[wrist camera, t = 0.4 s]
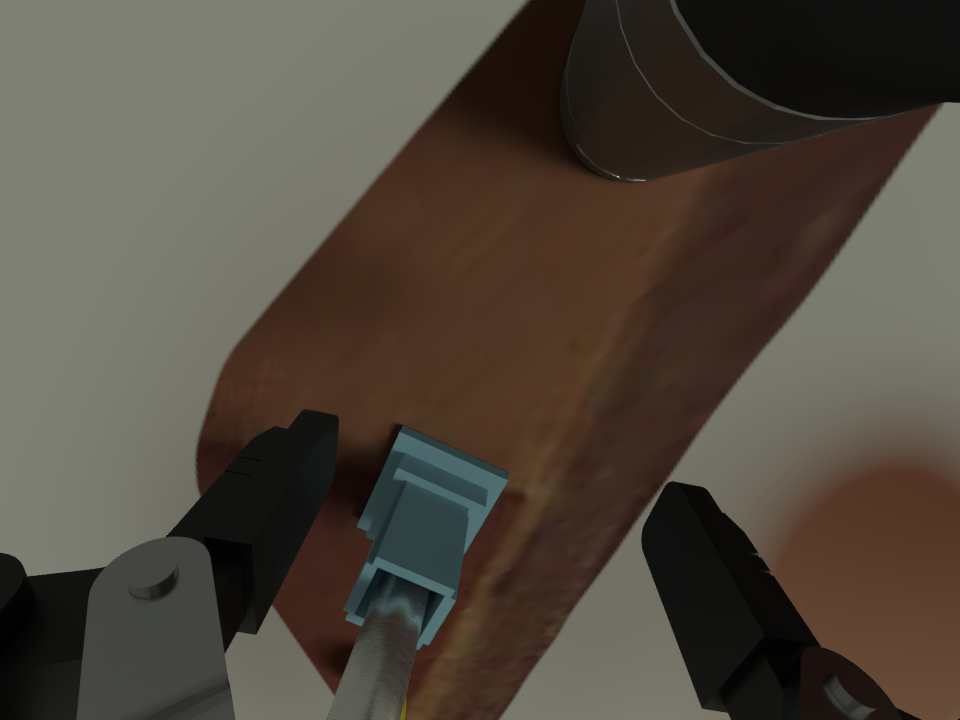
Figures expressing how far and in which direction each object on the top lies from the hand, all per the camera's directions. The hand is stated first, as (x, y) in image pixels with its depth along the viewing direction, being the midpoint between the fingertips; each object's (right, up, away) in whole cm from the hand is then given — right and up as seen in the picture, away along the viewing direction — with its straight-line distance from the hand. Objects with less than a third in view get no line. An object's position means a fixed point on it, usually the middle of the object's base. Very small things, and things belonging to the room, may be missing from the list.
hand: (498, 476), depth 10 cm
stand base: (-4, -8, +24) cm, 25 cm away
